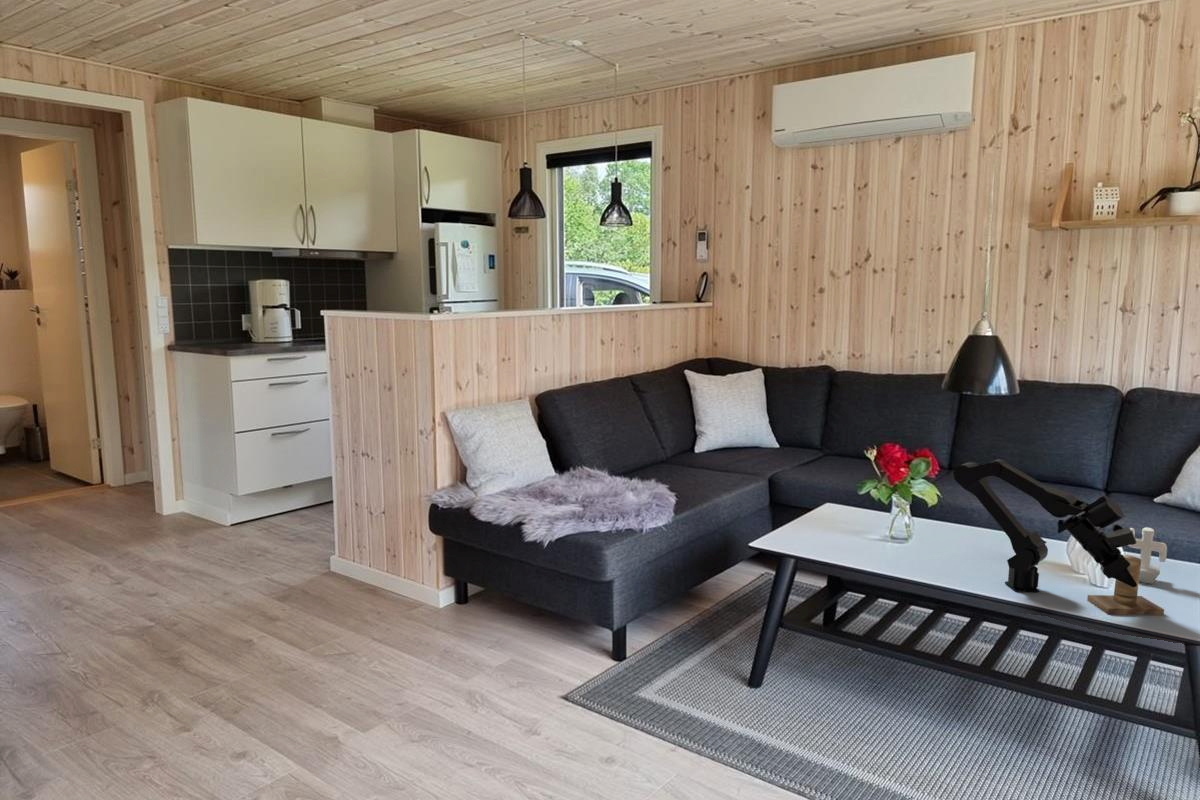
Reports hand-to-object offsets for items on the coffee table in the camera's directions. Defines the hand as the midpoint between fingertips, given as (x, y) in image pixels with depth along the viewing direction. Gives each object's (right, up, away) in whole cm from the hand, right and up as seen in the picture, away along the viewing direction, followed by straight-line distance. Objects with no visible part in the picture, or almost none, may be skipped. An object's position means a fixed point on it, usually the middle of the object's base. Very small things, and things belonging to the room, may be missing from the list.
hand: (1133, 582), depth 209 cm
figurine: (+17, -4, +22) cm, 28 cm away
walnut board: (-1, -7, +1) cm, 7 cm away
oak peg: (-1, -7, +1) cm, 7 cm away
